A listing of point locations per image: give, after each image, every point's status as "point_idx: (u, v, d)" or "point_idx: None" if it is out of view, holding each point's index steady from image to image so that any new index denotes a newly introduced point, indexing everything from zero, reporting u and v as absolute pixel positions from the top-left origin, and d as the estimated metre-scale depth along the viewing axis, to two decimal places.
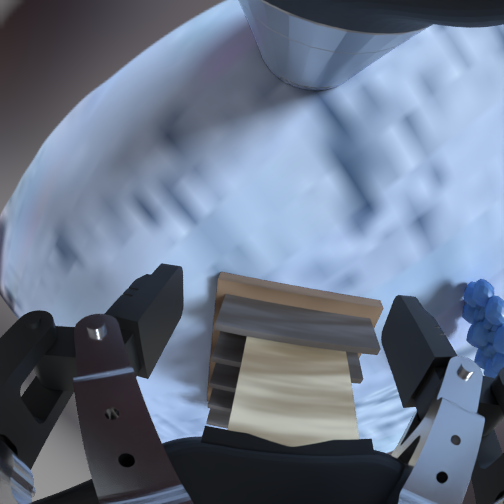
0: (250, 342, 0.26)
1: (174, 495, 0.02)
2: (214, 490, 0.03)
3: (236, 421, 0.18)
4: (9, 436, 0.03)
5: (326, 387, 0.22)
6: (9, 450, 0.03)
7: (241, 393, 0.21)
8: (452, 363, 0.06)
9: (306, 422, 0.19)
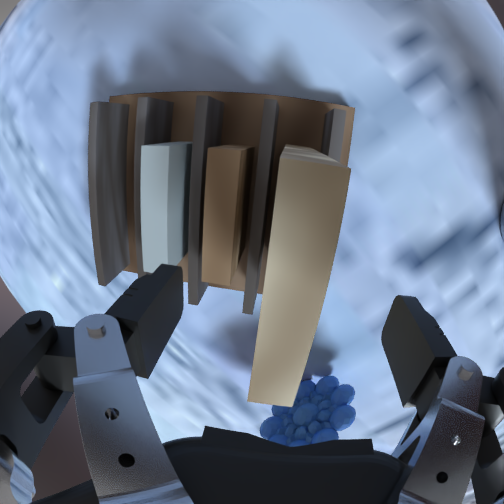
0: None
1: (174, 495, 0.02)
2: (214, 490, 0.03)
3: None
4: (9, 436, 0.03)
5: None
6: (9, 450, 0.03)
7: None
8: (452, 362, 0.06)
9: None
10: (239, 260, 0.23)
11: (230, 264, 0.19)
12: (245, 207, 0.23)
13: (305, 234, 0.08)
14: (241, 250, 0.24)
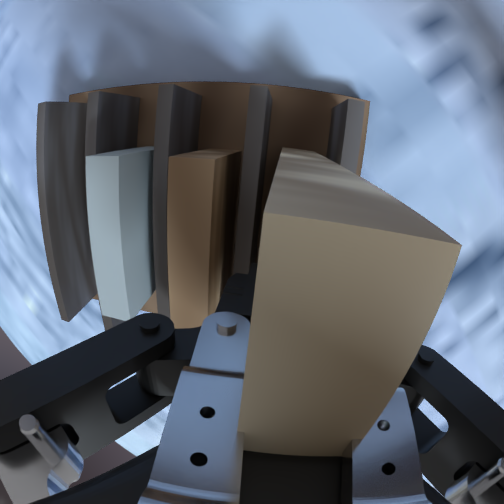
0: None
1: (174, 495, 0.02)
2: None
3: None
4: (75, 427, 0.04)
5: None
6: (66, 442, 0.04)
7: None
8: None
9: None
10: None
11: (206, 313, 0.14)
12: (228, 231, 0.17)
13: (324, 391, 0.03)
14: (225, 284, 0.19)
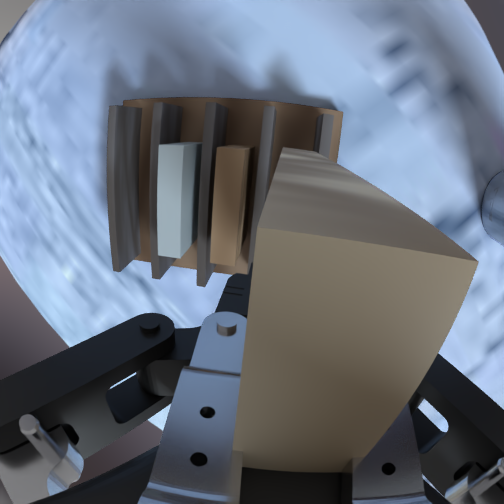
0: None
1: (174, 495, 0.02)
2: None
3: None
4: (75, 427, 0.04)
5: None
6: (67, 442, 0.04)
7: None
8: None
9: None
10: None
11: (235, 247, 0.22)
12: (247, 199, 0.26)
13: (324, 414, 0.03)
14: (243, 237, 0.27)
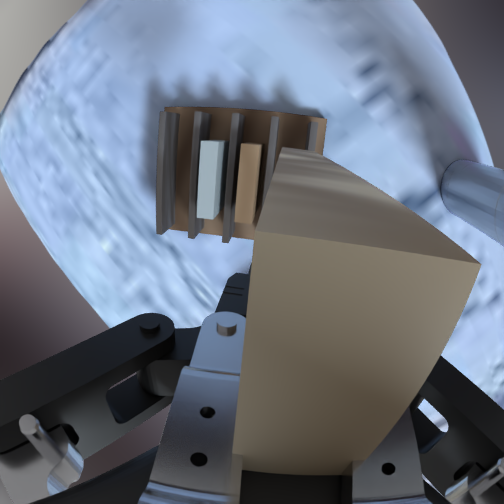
0: None
1: (174, 495, 0.02)
2: None
3: None
4: (75, 427, 0.04)
5: None
6: (67, 442, 0.04)
7: None
8: None
9: None
10: None
11: (252, 210, 0.33)
12: (259, 180, 0.36)
13: (323, 419, 0.03)
14: (256, 208, 0.37)
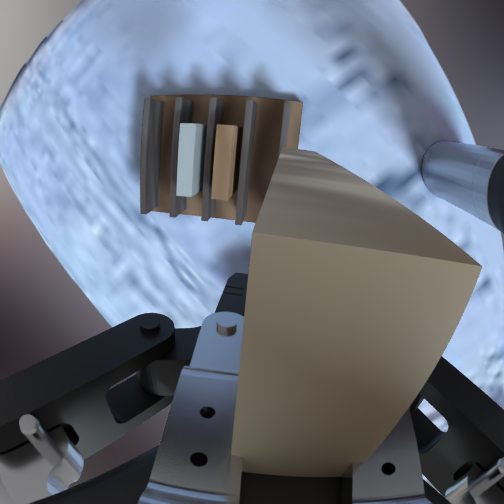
0: None
1: (174, 495, 0.02)
2: None
3: None
4: (75, 427, 0.04)
5: None
6: (66, 442, 0.04)
7: None
8: None
9: None
10: (233, 193, 0.38)
11: (228, 187, 0.34)
12: (237, 161, 0.37)
13: (323, 421, 0.03)
14: (234, 188, 0.38)
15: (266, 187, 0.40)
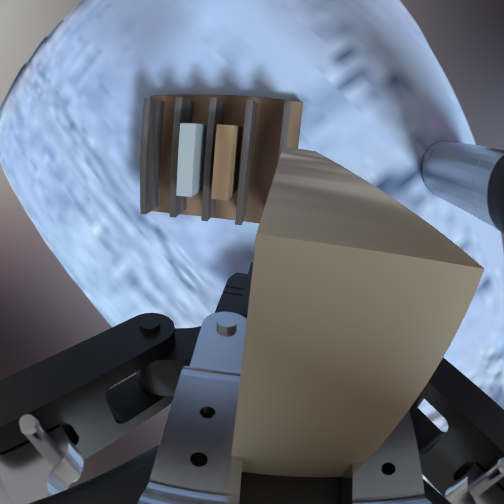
0: None
1: (174, 495, 0.02)
2: None
3: None
4: (75, 427, 0.04)
5: None
6: (67, 442, 0.04)
7: None
8: None
9: None
10: (233, 193, 0.38)
11: (228, 187, 0.34)
12: (237, 161, 0.37)
13: (323, 423, 0.03)
14: (234, 188, 0.38)
15: (266, 187, 0.40)
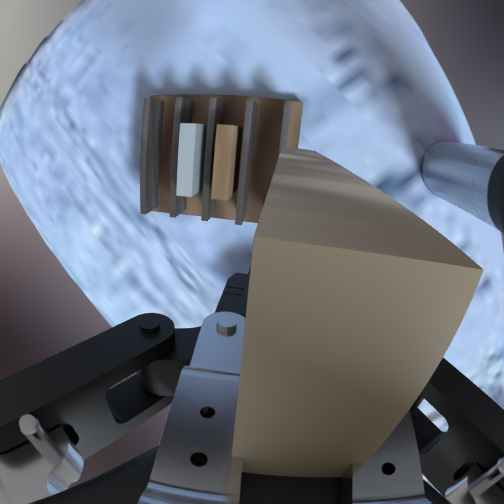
0: None
1: (174, 495, 0.02)
2: None
3: None
4: (75, 427, 0.04)
5: None
6: (67, 442, 0.04)
7: None
8: None
9: None
10: (233, 193, 0.38)
11: (228, 187, 0.34)
12: (237, 161, 0.37)
13: (323, 423, 0.03)
14: (234, 188, 0.38)
15: (266, 187, 0.40)
